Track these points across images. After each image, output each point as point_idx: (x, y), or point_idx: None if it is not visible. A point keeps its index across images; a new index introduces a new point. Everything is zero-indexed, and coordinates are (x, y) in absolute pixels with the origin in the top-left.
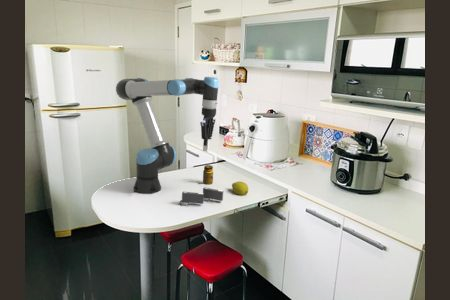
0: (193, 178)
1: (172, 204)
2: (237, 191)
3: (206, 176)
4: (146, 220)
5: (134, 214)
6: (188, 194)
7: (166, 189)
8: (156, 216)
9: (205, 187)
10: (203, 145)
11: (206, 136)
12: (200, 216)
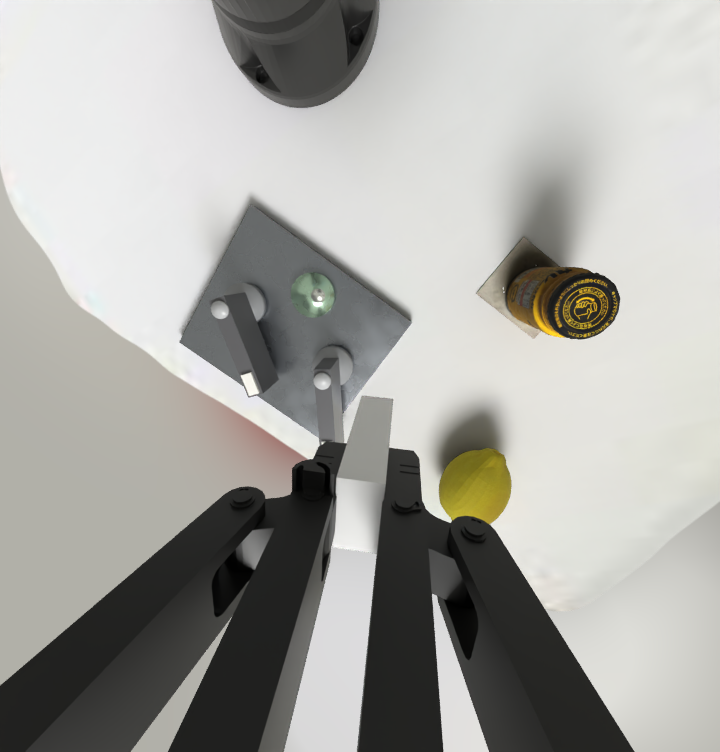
0: (609, 169)
1: None
2: (441, 480)
3: (523, 303)
4: (76, 229)
5: (78, 150)
6: (223, 330)
7: (371, 112)
8: (120, 246)
9: (325, 378)
10: (354, 426)
11: (235, 600)
12: (215, 393)
